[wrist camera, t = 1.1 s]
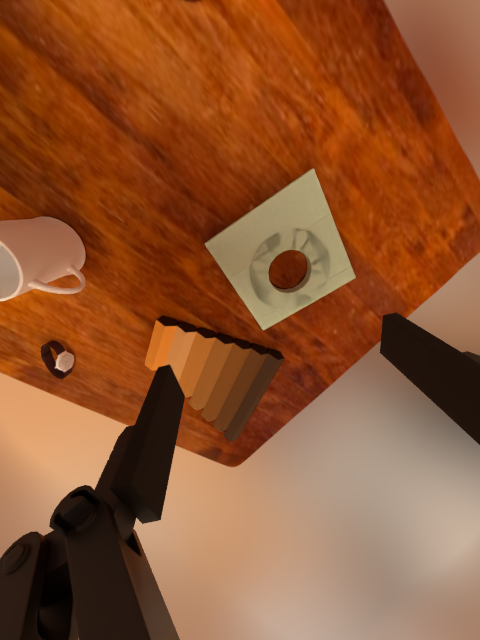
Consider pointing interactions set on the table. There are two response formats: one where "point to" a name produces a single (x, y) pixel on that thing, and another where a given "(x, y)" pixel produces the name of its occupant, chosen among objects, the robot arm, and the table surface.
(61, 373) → the watch
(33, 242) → the mug
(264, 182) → the table surface
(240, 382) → the pan flute
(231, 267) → the mounting pad
